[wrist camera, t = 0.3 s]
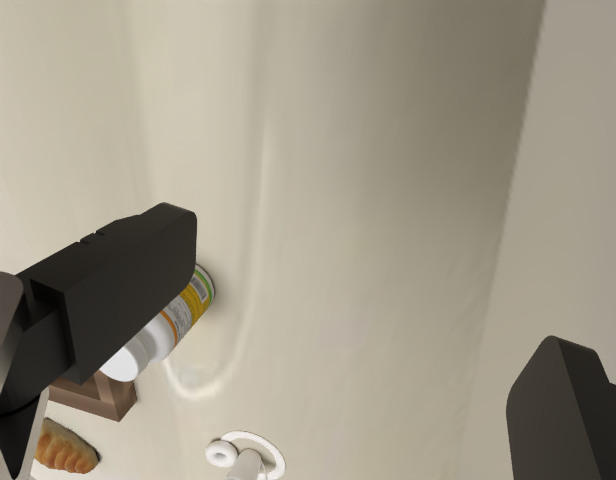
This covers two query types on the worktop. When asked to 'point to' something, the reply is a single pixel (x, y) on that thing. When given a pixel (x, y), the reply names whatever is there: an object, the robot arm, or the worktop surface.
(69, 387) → the bottle holder
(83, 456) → the pastry
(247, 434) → the teacup and saucer
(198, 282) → the supplement bottle
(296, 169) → the worktop surface
